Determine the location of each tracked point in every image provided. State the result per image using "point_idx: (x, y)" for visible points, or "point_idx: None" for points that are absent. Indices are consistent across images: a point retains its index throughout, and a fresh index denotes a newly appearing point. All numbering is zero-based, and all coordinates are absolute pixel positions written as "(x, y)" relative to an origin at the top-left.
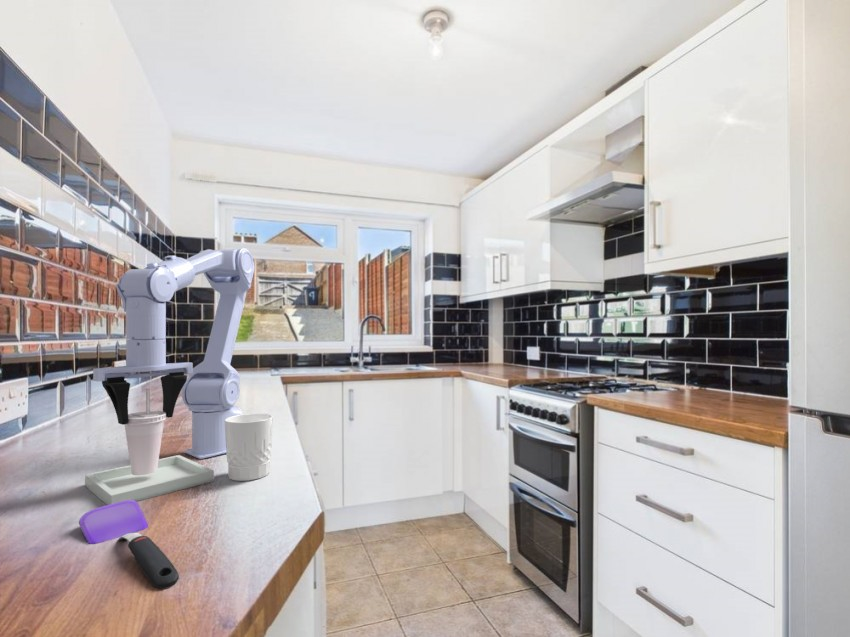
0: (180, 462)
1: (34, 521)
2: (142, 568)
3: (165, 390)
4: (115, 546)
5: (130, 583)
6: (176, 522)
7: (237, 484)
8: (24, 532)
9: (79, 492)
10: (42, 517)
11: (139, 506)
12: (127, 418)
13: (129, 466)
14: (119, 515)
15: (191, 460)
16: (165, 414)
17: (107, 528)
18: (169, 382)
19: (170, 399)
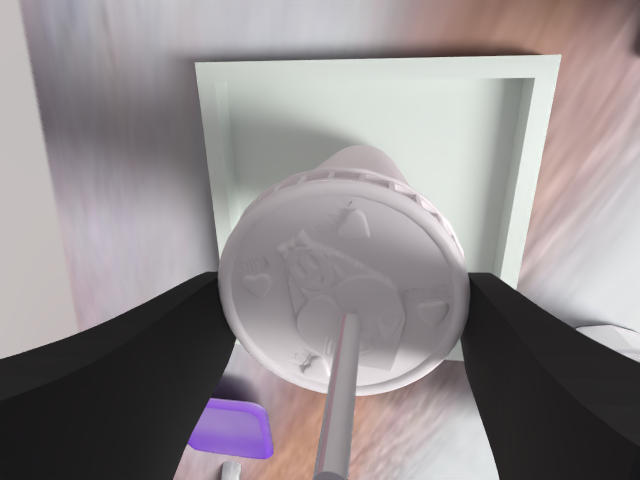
0: (521, 126)
1: (108, 273)
2: None
3: (530, 428)
4: (217, 476)
5: None
6: (313, 474)
7: None
8: (98, 318)
9: (193, 127)
10: (119, 262)
11: (268, 423)
12: (225, 360)
13: (339, 80)
14: (231, 428)
15: (533, 198)
16: (439, 362)
17: (211, 439)
18: None
19: (494, 448)
